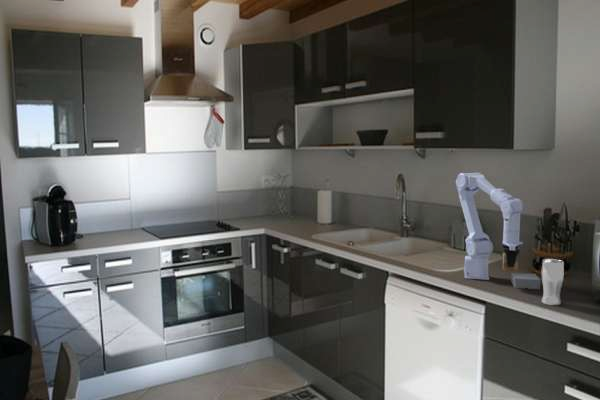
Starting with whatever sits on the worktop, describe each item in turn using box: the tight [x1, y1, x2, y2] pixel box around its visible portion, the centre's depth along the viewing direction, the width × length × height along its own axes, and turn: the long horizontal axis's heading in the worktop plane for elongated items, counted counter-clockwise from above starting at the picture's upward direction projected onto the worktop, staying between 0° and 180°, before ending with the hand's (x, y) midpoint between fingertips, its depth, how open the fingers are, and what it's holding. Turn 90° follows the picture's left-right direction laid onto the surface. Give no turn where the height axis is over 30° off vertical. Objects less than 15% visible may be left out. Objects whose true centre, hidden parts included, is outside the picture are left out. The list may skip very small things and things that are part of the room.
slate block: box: [510, 272, 541, 290], centre depth 202 cm, size 9×9×4 cm
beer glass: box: [541, 258, 565, 306], centre depth 179 cm, size 7×7×15 cm
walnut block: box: [502, 252, 519, 273], centre depth 198 cm, size 5×5×6 cm
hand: (510, 265), depth 198 cm, fingers closed on walnut block, 5 cm apart
